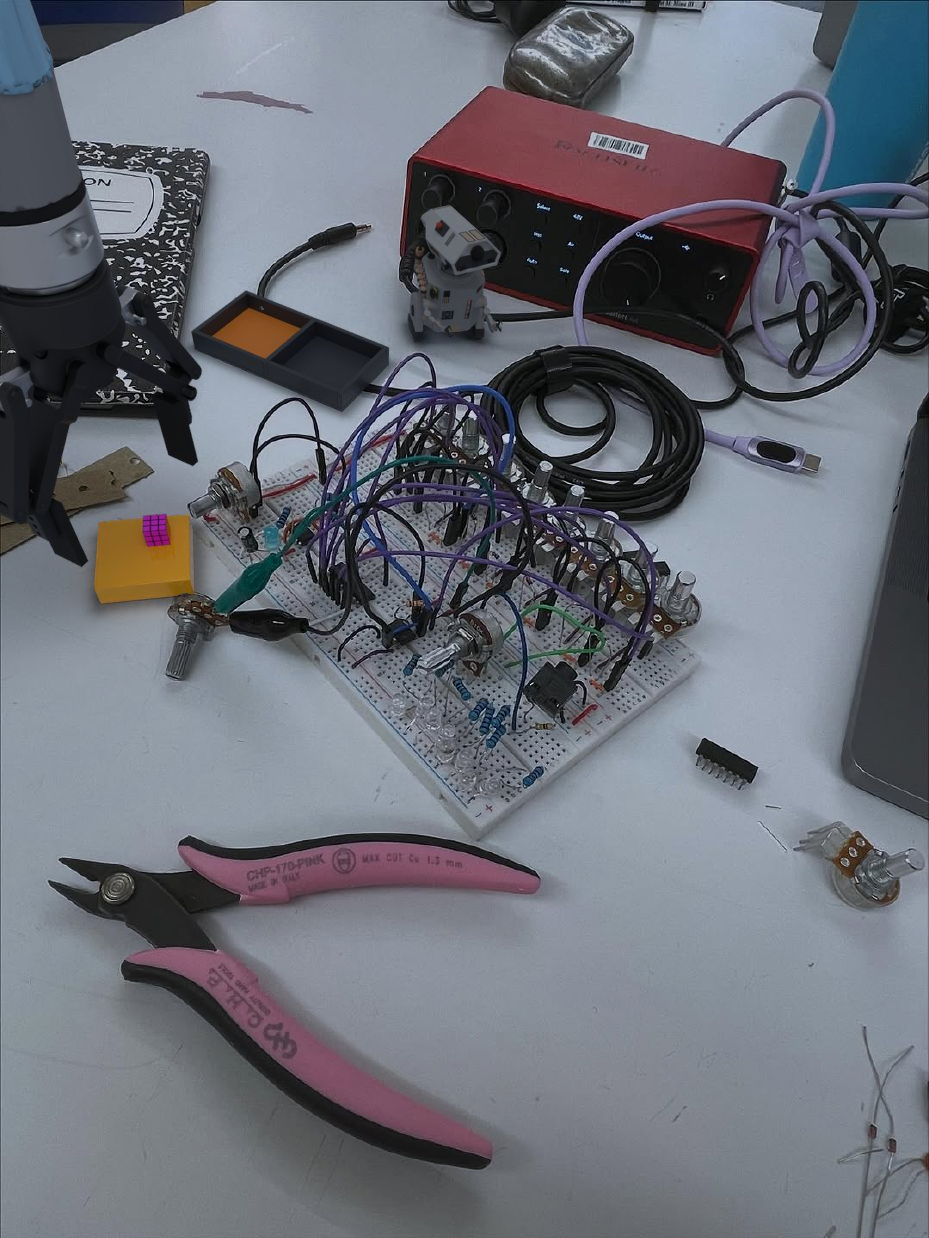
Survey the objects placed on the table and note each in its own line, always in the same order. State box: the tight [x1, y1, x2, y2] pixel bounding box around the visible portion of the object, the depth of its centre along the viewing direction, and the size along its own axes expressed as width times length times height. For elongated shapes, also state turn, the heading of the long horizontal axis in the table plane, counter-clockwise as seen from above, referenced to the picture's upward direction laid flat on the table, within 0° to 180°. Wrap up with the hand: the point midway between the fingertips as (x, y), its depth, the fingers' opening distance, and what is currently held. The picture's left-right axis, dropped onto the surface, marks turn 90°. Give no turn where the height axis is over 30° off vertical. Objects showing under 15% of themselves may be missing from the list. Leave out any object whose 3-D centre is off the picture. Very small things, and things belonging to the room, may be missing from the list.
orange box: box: [93, 513, 195, 605], centre depth 71 cm, size 8×8×4 cm
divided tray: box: [190, 289, 390, 412], centre depth 92 cm, size 20×10×2 cm, turn 63°
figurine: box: [407, 204, 503, 342], centre depth 92 cm, size 9×12×15 cm
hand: (130, 505), depth 66 cm, fingers open, 13 cm apart
